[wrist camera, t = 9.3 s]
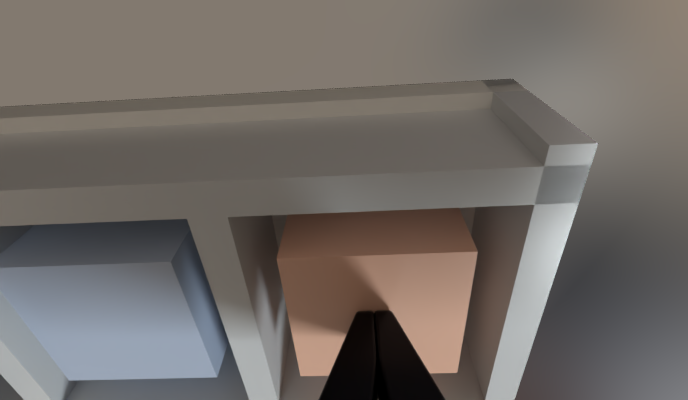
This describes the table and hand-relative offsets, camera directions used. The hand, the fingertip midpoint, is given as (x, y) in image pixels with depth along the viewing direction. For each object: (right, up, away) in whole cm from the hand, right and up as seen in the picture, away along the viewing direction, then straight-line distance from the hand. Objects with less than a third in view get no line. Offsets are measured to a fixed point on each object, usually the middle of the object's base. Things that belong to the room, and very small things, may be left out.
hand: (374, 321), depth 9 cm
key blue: (-6, +1, +2) cm, 7 cm away
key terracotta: (0, +1, +2) cm, 2 cm away
